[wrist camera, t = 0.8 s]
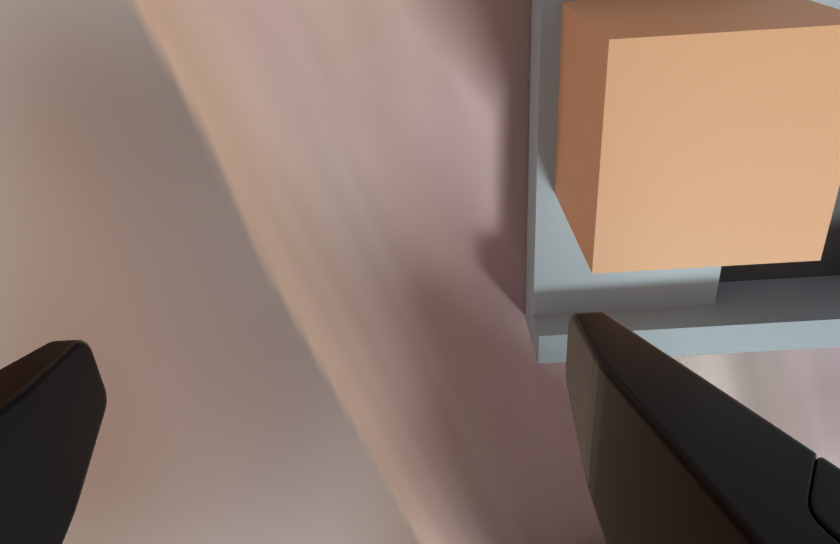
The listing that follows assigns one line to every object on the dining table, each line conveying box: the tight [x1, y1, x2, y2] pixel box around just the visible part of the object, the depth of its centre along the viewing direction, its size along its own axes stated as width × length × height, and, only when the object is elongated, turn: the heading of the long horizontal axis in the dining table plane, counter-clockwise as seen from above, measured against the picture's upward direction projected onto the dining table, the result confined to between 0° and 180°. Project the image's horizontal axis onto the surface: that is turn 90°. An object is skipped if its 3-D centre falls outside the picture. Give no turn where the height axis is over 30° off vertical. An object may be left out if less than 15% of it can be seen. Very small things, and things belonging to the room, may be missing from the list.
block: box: [555, 0, 840, 274], centre depth 16 cm, size 5×5×4 cm
